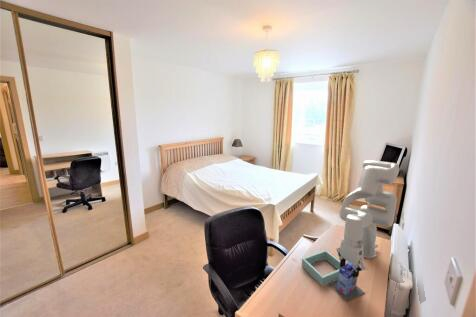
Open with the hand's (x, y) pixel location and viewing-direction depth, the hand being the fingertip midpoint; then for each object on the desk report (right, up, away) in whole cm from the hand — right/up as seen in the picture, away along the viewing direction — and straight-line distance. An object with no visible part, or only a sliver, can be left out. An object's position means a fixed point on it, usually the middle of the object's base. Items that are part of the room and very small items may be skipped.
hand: (348, 271), depth 105 cm
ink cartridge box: (0, -10, +3) cm, 10 cm away
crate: (-6, -8, +15) cm, 18 cm away
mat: (0, -10, +2) cm, 11 cm away
